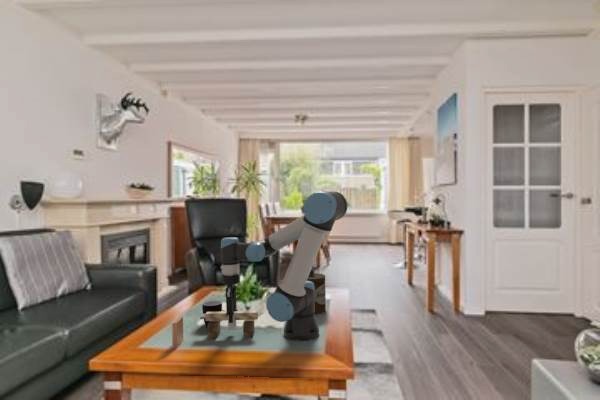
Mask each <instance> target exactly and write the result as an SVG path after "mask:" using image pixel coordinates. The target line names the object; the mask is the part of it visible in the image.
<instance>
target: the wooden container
mask: <svg viewBox="0 0 600 400" xmlns="http://www.w3.org/2000/svg"><path fill="white" fill-rule="evenodd" d="M307 281H311V282H313V283H314V289H315V316H316V315H321V314H324V313H326V311H327V310H326V308H327V307H326V303H327V301H326V297H327V296H326V275H325V274H323V273H319V272H318V273H316V272H315V269H314V268H313V267H312V269H311V271H310V274H309V276H308V278H307Z"/></svg>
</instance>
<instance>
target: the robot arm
mask: <svg viewBox="0 0 600 400" xmlns="http://www.w3.org/2000/svg"><path fill="white" fill-rule="evenodd" d="M348 206H349V205H348V201H347V199H346V197H345V195H343V194H342V193H340V192H338V191H334V190H333V191H332V190H331V191H329V190H328V191H326V190H320V191H316V192H313V193H311V194H310V195H308V197H307V198H306V199H305V200H304V203H303V210H302V211H303V213H304V214H303V215H302V216H300V217H298V218H297V219H294V220H293V221H292V222H290V223H288V224H287V225H285V226H284V227H281V228H280V229H279V230H276V231H274V233H272V234H270V235H269V236H267V237H266V238H264V239H262V240H261V239H260V240H258V241H253V242H240V241H239V238H238V237H236V236H235V237H234V236H233V237H223V238H222V239H221V241H220V254H221V255H220V256H221V266H220V269H221V274H222V275H221V283H222V284H223V285H226V287H225V301H226V303H225V306H226V311H227V314H226V315H228V320H227V331H235V330H236V328H237V320H235V317H234V311H239V310H238V309H237V308H238V307H237V288H238V287H237V284H239V283H240V282H241V278H240V272H241V271H240V261H243V262H253V263H254V262H262V261H263V259H264V258H267V257H272V256H274V255H275V254H277V252H278V251H280V250H281V249H283V248H285V247H287V246H288V245H290V244H292V243H294V242H295V241H297V240H298V242H297V244H296V247H295V249H294V253H293V254H292V257H291V260H290V262H289V265H288V267H287V270H286V272H285V275H284V277H283V279H281V280H279V281H278V282H277V285H276V288H275V290H274V292H273V293H270V295H269V296H268V297H267V299H266V301H265V307H266V310H267V313H268V315H269V316H270V317H271V318H272V319H273V320H275V321H276V322H281V323H284V322H285V324H284V328H283V335H284V337H285V338H287V339H289V340H293V341H309V340H314V339H315V338H316V339H317V337H319V335H320V329H319V328H320V327H319V324H318V322H317V318H316V315H315V289H314V283H313V282H311V281H307V278H308V276H309V274H310V271H311V269H312V268H313V266H314V264H315V261H316V259H317V256H318V253H319V251H320V248H321V246H322V244H323V240H324V239H325V236H326V234H328V233H330V232H331V231H332V230H333V227H334V226H335V225H334V224H335V222H336V221H338V220H340V219H342V218H344V216H345V215H346V214H347V211H348V208H349V207H348Z"/></svg>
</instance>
